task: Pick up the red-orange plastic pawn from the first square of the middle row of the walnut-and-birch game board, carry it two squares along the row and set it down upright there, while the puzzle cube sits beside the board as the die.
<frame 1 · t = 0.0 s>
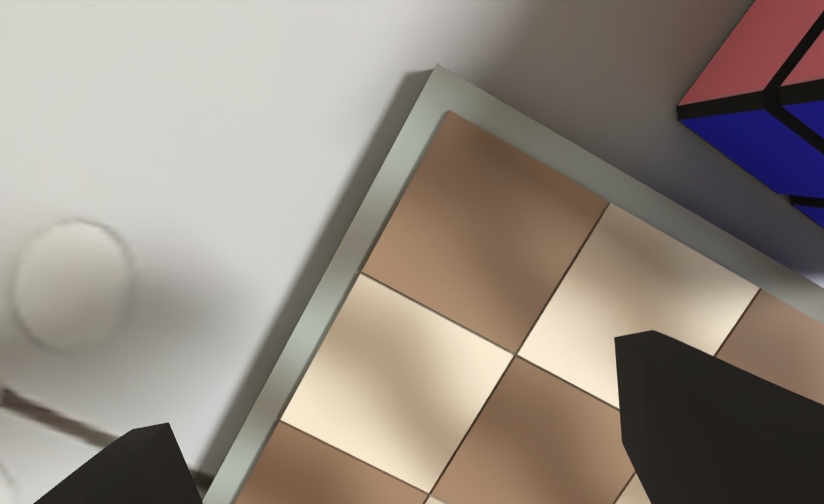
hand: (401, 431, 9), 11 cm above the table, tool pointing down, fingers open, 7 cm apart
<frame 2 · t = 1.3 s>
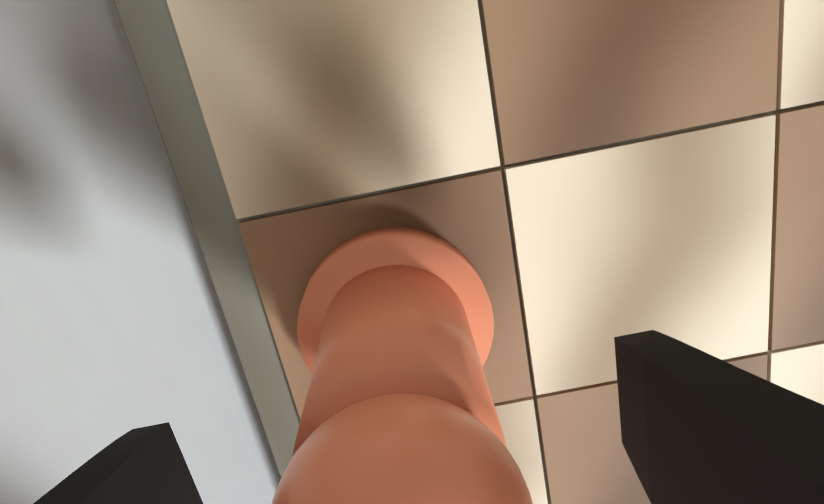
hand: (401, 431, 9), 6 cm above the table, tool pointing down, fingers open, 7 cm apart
pawn: (395, 315, 13), point 1 cm above the table, touching board
board: (741, 227, 14), on the table
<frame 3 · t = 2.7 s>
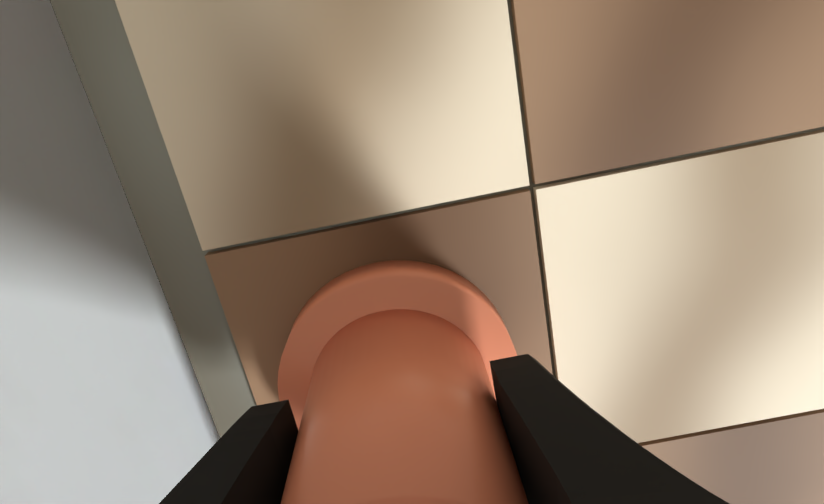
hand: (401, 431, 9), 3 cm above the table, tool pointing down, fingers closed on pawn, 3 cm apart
pawn: (399, 365, 10), point 1 cm above the table, touching board, gripper
board: (813, 255, 11), on the table
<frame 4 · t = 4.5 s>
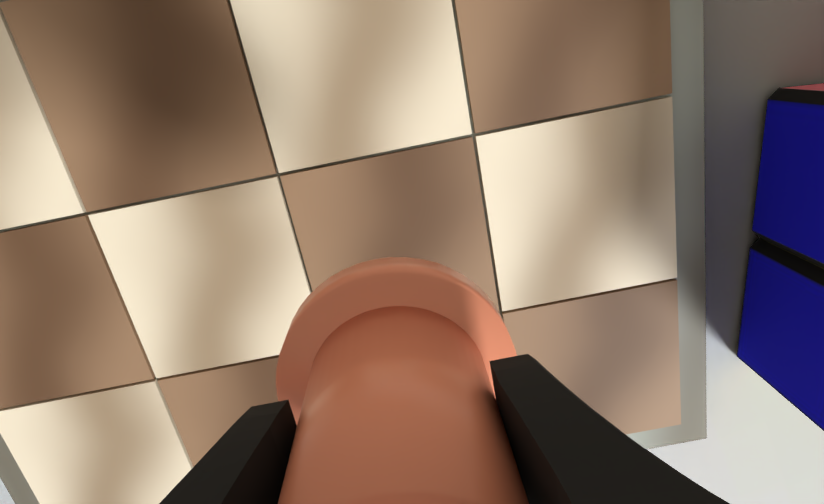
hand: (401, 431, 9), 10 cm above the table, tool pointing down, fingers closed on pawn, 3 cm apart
pawn: (397, 362, 10), point 8 cm above the table, touching gripper
board: (309, 253, 18), on the table
when the fingers open (5 cm above the table, at t = 6.2 s): pawn drops 2 cm, resting on board.
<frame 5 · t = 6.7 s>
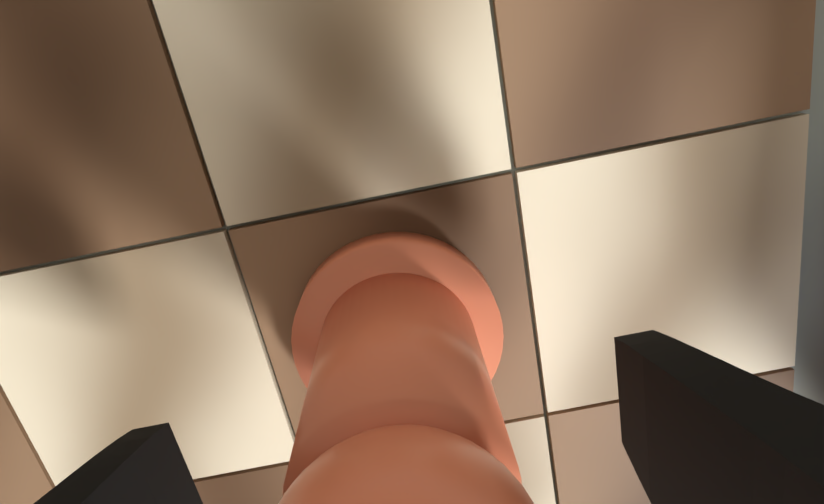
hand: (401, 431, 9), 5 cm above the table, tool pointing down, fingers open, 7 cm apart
pawn: (397, 326, 12), point 1 cm above the table, touching board
board: (277, 329, 13), on the table
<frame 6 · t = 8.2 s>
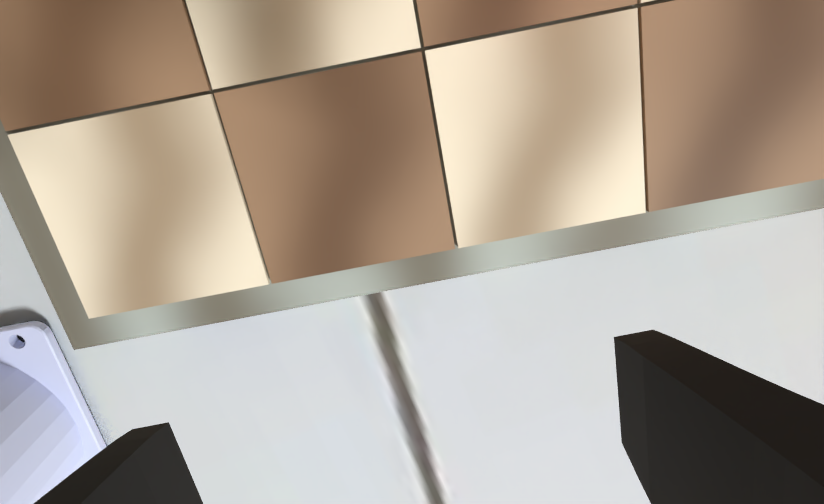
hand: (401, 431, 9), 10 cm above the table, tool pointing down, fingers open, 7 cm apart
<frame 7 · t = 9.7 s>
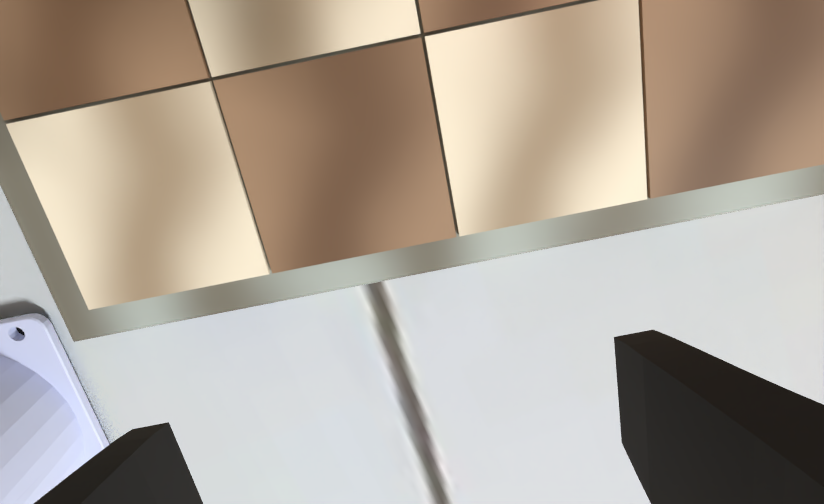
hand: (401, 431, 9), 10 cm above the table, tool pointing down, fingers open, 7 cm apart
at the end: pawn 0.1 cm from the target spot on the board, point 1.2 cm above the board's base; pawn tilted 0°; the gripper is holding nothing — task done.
